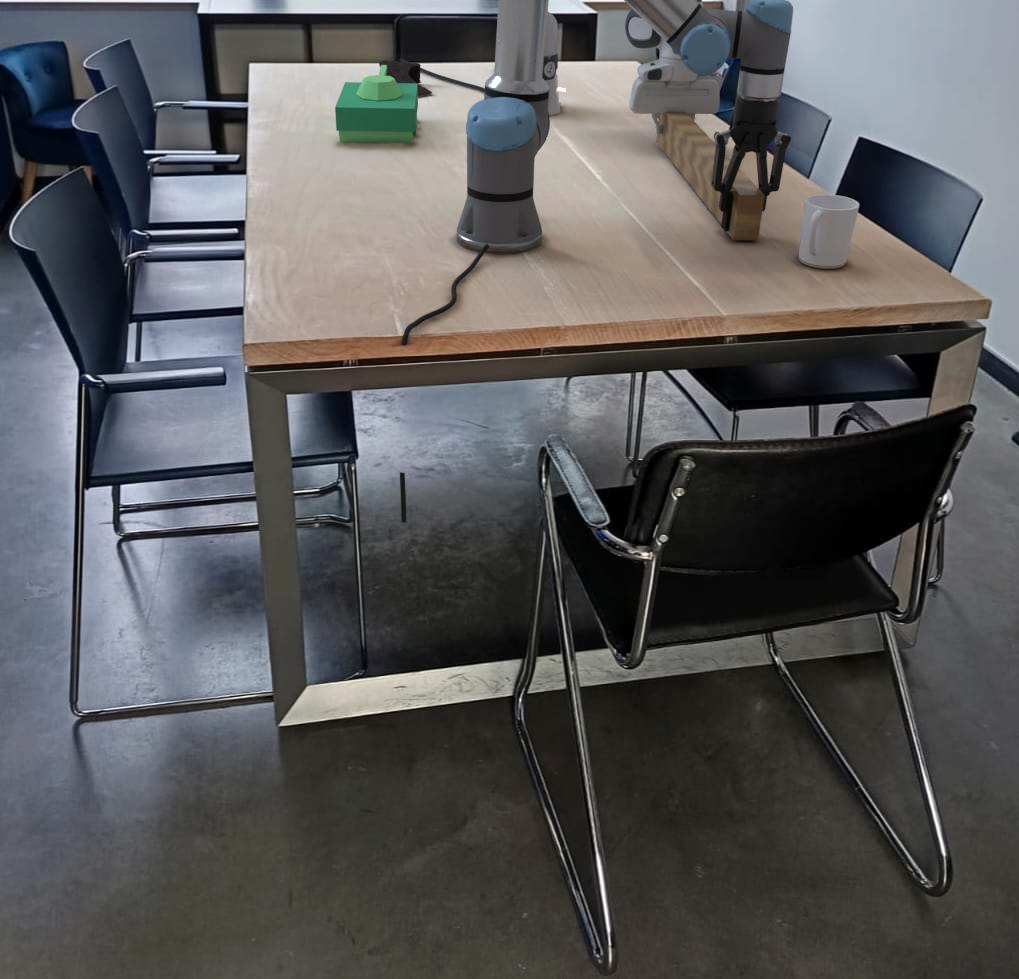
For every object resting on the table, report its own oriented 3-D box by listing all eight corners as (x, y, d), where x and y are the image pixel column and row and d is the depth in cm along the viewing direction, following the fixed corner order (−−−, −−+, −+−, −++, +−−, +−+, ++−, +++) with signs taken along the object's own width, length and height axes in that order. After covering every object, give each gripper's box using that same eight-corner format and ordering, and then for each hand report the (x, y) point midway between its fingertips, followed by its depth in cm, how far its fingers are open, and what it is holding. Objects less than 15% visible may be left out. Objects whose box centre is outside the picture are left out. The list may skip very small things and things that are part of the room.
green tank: (418, 61, 273) (414, 91, 243) (418, 112, 279) (415, 147, 249) (346, 59, 272) (334, 89, 242) (349, 110, 278) (337, 146, 249)
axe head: (443, 87, 294) (392, 77, 287) (436, 115, 299) (385, 106, 292) (421, 62, 307) (371, 52, 300) (414, 89, 311) (365, 80, 304)
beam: (757, 240, 197) (764, 195, 193) (733, 240, 197) (739, 194, 192) (675, 141, 257) (679, 105, 252) (656, 141, 256) (660, 105, 252)
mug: (809, 248, 195) (819, 191, 189) (856, 260, 190) (868, 201, 185) (780, 264, 188) (790, 205, 182) (829, 277, 183) (840, 216, 177)
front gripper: (801, 92, 193) (779, 222, 205) (703, 91, 191) (687, 221, 203) (814, 102, 186) (791, 235, 199) (713, 100, 185) (696, 235, 197)
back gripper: (720, 67, 247) (712, 130, 254) (630, 66, 245) (625, 129, 253) (727, 73, 242) (719, 136, 249) (636, 72, 240) (630, 136, 247)
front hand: (739, 228), depth 201 cm, fingers closed on beam, 5 cm apart
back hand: (671, 133), depth 251 cm, fingers closed on beam, 4 cm apart
